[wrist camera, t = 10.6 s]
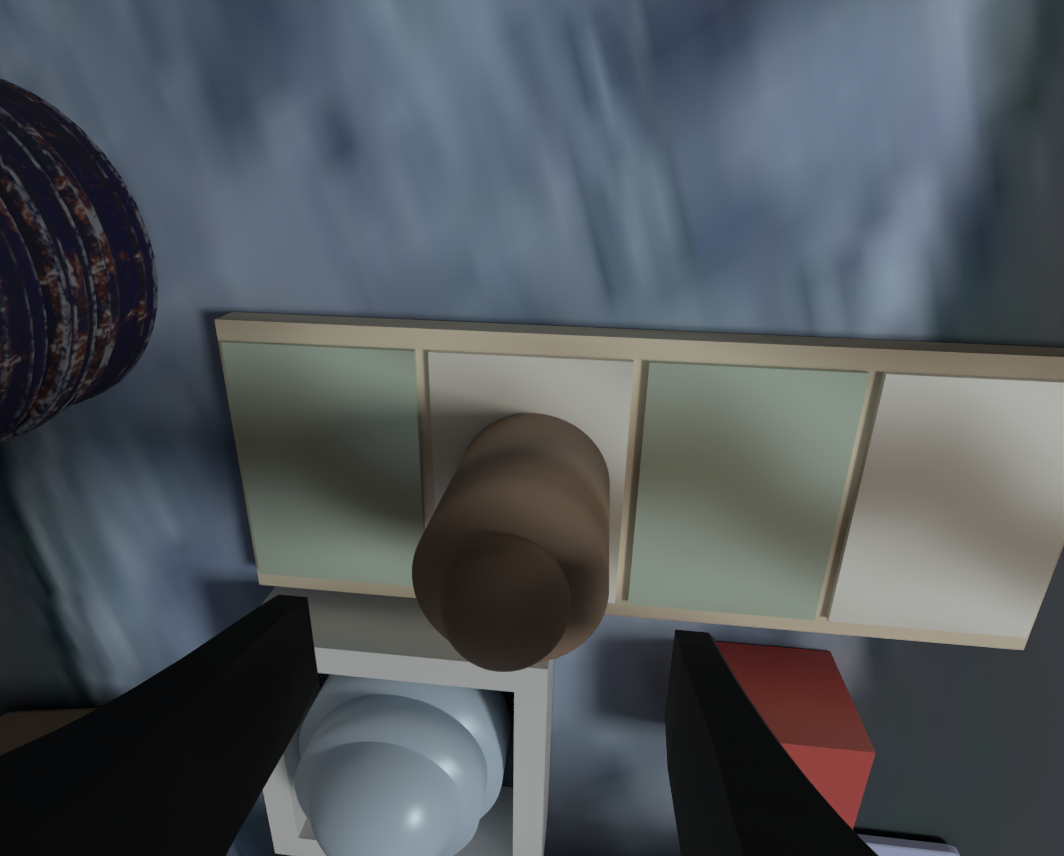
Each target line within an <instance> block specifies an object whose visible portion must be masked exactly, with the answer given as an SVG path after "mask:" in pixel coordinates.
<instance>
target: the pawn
mask: <svg viewBox="0 0 1064 856" xmlns="http://www.w3.org/2000/svg"><path fill="white" fill-rule="evenodd" d="M609 520H610V479H609V472H608V468H607V465H606V462H605V460H604V457H603V455H602V453H601V452H600V450H599V449H598V447H597V445H596V444H595V443H594V442H593V441H592V439H591V438H590V437H589V436H587V435H586V434H585V433H584V432H583V431H582V430H580V429H579V428H577V427H576V426H575V425H573V424H571V423H569V422H567V421H565V420H562V419H560V418H557V417H554V416H550V415H546V414H538V413H524V414H516V415H512V416H508V417H505V418H502V419H500V420H497V421H495V422H494V423H492V424H490V425H488V426H487V427H486V428H484V429H483V430H482V431H481V432H480V433H479V434H478V435H477V436H476V437H475V438H474V439H473V440H472V442H471V443H470V444H469V446H468V448H467V450H466V452H465V454H464V456H463V457H462V459H461V461H460V463H459V465H458V467H457V469H456V471H455V473H454V475H453V477H452V479H451V481H450V483H449V485H448V487H447V488H446V490H445V492H444V494H443V496H442V498H441V500H440V502H439V504H438V506H437V508H436V510H435V512H434V514H433V516H432V518H431V519H430V521H429V523H428V525H427V527H426V529H425V531H424V533H423V535H422V537H421V539H420V541H419V543H418V545H417V548H416V550H415V553H414V557H413V563H412V582H413V589H414V592H415V596H416V599H417V601H418V603H419V606H420V608H421V610H422V611H423V613H424V615H425V616H426V618H427V619H428V621H429V622H430V623H431V624H432V626H433V627H434V628H435V629H436V630H437V631H438V632H439V633H440V634H441V635H442V636H443V637H444V638H446V639H447V640H448V641H449V642H450V644H451V645H452V646H453V648H454V649H455V650H456V651H457V652H458V653H459V654H460V655H461V656H462V657H463V658H465V659H466V660H467V661H469V662H471V663H472V664H474V665H476V666H478V667H480V668H483V669H486V670H490V671H496V672H512V671H518V670H522V669H525V668H527V667H530V666H532V665H534V664H536V663H541V662H545V661H549V660H552V659H556V658H558V657H560V656H563V655H565V654H567V653H569V652H571V651H572V650H574V649H576V648H577V647H578V646H580V645H581V644H582V643H584V642H585V641H586V640H587V639H588V638H589V637H590V636H591V635H592V634H593V632H594V631H595V629H596V628H597V627H598V625H599V624H600V622H601V620H602V618H603V616H604V613H605V610H606V607H607V604H608V598H609Z"/></svg>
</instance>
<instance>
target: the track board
mask: <svg viewBox="0 0 1064 856" xmlns="http://www.w3.org/2000/svg"><path fill="white" fill-rule="evenodd" d="M214 320H215V326H216V332H217V338H218V344H219V350H220V356H221V361H222V367H223V373H224V379H225V385H226V391H227V397H228V403H229V408H230V414H231V420H232V426H233V432H234V438H235V444H236V450H237V455H238V461H239V467H240V473H241V479H242V485H243V491H244V497H245V503H246V508H247V514H248V520H249V526H250V532H251V538H252V544H253V550H254V555H255V561H256V567H257V573H258V579H259V585H268V586H280V587H291V588H303V589H315V590H326V591H338V592H350V593H362V594H373V595H385V596H397V597H408V598H416V596H415V592H414V589H413V582H412V563H413V557H414V553H415V550H416V548H417V545H418V543H419V541H420V539H421V537H422V535H423V533H424V531H425V529H426V527H427V525H428V523H429V521H430V519H431V518H432V516H433V514H434V512H435V510H436V508H437V506H438V504H439V502H440V500H441V498H442V496H443V494H444V492H445V490H446V488H447V487H448V485H449V483H450V481H451V479H452V477H453V475H454V473H455V471H456V469H457V467H458V465H459V463H460V461H461V459H462V457H463V456H464V454H465V452H466V450H467V448H468V446H469V444H470V443H471V442H472V440H473V439H474V438H475V437H476V436H477V435H478V434H479V433H480V432H481V431H482V430H483V429H484V428H486V427H487V426H488V425H490V424H492V423H494V422H495V421H497V420H500V419H502V418H505V417H508V416H512V415H516V414H524V413H538V414H546V415H550V416H554V417H557V418H560V419H562V420H565V421H567V422H569V423H571V424H573V425H575V426H576V427H577V428H579V429H580V430H582V431H583V432H584V433H585V434H586V435H587V436H589V437H590V438H591V439H592V441H593V442H594V443H595V444H596V445H597V447H598V449H599V450H600V452H601V453H602V455H603V457H604V460H605V462H606V465H607V468H608V472H609V479H610V520H609V598H608V604H607V607H606V610H605V613H604V614H607V615H618V616H630V617H642V618H654V619H665V620H677V621H689V622H700V623H712V624H724V625H735V626H747V627H759V628H770V629H782V630H794V631H805V632H817V633H829V634H840V635H852V636H864V637H875V638H887V639H899V640H910V641H922V642H934V643H946V644H957V645H969V646H981V647H992V648H1004V649H1016V650H1024V648H1025V645H1026V642H1027V640H1028V637H1029V635H1030V632H1031V629H1032V627H1033V624H1034V621H1035V619H1036V616H1037V614H1038V611H1039V608H1040V606H1041V603H1042V600H1043V598H1044V595H1045V593H1046V590H1047V587H1048V585H1049V582H1050V580H1051V577H1052V574H1053V572H1054V569H1055V566H1056V564H1057V561H1058V559H1059V556H1060V553H1061V551H1062V548H1063V546H1064V348H1058V347H1035V346H1012V345H989V344H966V343H943V342H919V341H896V340H873V339H850V338H827V337H804V336H781V335H758V334H734V333H711V332H688V331H665V330H642V329H619V328H596V327H573V326H549V325H526V324H503V323H480V322H457V321H434V320H411V319H388V318H364V317H341V316H318V315H295V314H272V313H249V312H232V313H229V314H226V315H224V316H221V317H219V318H216V319H214Z"/></svg>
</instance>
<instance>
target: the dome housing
mask: <svg viewBox="0 0 1064 856" xmlns="http://www.w3.org/2000/svg"><path fill="white" fill-rule="evenodd" d="M278 594H279V595H290V596H301V597H308V604H309V612H310V619H311V626H312V634H313V641H314V649H315V656H316V664H317V671H318V673H324V674H335V675H345V676H355V677H365V678H375V679H385V680H396V681H406V682H416V683H426V684H436V685H446V686H456V687H467V688H477V689H487V690H497V691H507V692H514V773H513V787H505V786H501V789H500V793H499V796H498V798H497V800H496V802H495V803H494V805H493V806H492V807H491V809H490V810H489V811H488V812H487V813H486V814H485V815H484V816H483V817H482V818H480V820H479V824H478V827H477V830H476V832H475V834H474V836H473V838H472V839H471V840H470V842H469V843H468V844H467V845H466V846H465V847H464V848H463V849H462V850H461V851H459V852H458V853H456V854H455V855H453V856H544V847H545V837H546V826H547V816H548V800H549V774H550V748H551V721H552V695H553V669H554V659H552V660H549V661H545V662H541V663H536V664H534V665H532V666H530V667H527V668H525V669H522V670H518V671H512V672H496V671H490V670H486V669H483V668H480V667H478V666H476V665H474V664H472V663H471V662H469V661H467V660H466V659H465V658H463V657H462V656H461V655H460V654H459V653H458V652H457V651H456V650H455V649H454V648H453V646H452V645H451V644H450V642H449V641H448V640H447V639H446V638H444V637H443V636H442V635H441V634H440V633H439V632H438V631H437V630H436V629H435V628H434V627H433V626H432V624H431V623H430V622H429V621H428V619H427V618H426V616H425V615H424V613H423V611H422V610H421V608H420V606H419V603H418V601H417V599H416V598H408V597H397V596H385V595H373V594H362V593H350V592H338V591H326V590H315V589H303V588H291V587H280V586H275V588H274V589H273V590H272V591H271V593H270V594H269V595H268V596H267V598H266V599H265V600H264V601H263V603H262V604H264V603H265V602H267V601H269V600H270V599H272V598H273V597H275V596H277V595H278ZM262 604H261V605H262ZM261 605H260V606H261ZM319 692H320V683H319V676H318V680H317V683H316V685H315V688H314V690H313V693H312V695H311V698H310V701H309V703H308V705H307V708H306V710H305V712H304V715H303V717H302V719H301V722H300V724H299V726H298V728H297V730H296V732H295V734H294V735H293V737H292V739H291V741H290V743H289V744H288V746H287V748H286V750H285V752H284V753H283V755H282V757H281V759H280V760H279V762H278V764H277V766H276V767H275V769H274V771H273V773H272V774H271V776H270V778H269V780H268V781H267V783H266V785H265V787H264V788H263V794H264V799H265V804H266V809H267V814H268V819H269V824H270V830H271V835H272V840H273V845H274V850H275V853H276V854H283V855H291V856H326V855H325V853H324V852H323V850H322V849H321V847H320V846H319V844H318V842H317V840H316V838H315V835H314V833H313V830H312V827H311V823H310V821H309V819H308V818H307V817H306V815H305V814H304V812H303V810H302V809H301V806H300V804H299V802H298V799H297V795H296V791H295V773H296V770H297V767H298V764H299V762H300V760H301V756H300V752H299V736H300V731H301V727H302V724H303V722H304V720H305V718H306V716H307V714H308V712H309V710H310V709H311V707H312V705H313V703H314V701H315V699H316V698H317V696H318V694H319Z"/></svg>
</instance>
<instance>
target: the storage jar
mask: <svg viewBox="0 0 1064 856" xmlns="http://www.w3.org/2000/svg"><path fill="white" fill-rule="evenodd" d="M157 290H158V282H157V274H156V266H155V258H154V254H153V250H152V247H151V243H150V239H149V236H148V232H147V229H146V227H145V224H144V222H143V219H142V217H141V215H140V212H139V210H138V207H137V205H136V203H135V201H134V199H133V197H132V196H131V194H130V192H129V190H128V189H127V187H126V185H125V183H124V181H123V180H122V178H121V176H120V175H119V174H118V172H117V171H116V169H115V168H114V167H113V165H112V164H111V163H110V161H109V160H108V159H107V157H106V156H105V154H104V153H103V152H102V151H101V150H100V148H99V147H98V146H97V145H96V144H95V143H94V142H93V141H92V140H91V139H90V138H89V137H88V136H87V135H86V134H85V132H84V131H83V130H82V129H81V128H80V127H78V126H77V125H76V124H75V123H74V122H72V121H71V120H70V119H69V118H68V117H66V116H65V115H64V114H63V113H62V112H61V111H59V110H58V109H57V108H55V107H54V106H52V105H51V104H49V103H48V102H46V101H44V100H43V99H41V98H40V97H38V96H37V95H35V94H33V93H32V92H30V91H28V90H26V89H23V88H21V87H19V86H17V85H15V84H12V83H10V82H8V81H6V80H3V79H0V444H1V443H3V442H6V441H8V440H11V439H13V438H15V437H17V436H19V435H21V434H24V433H26V432H28V431H30V430H32V429H34V428H36V427H39V426H41V425H42V424H44V423H45V422H47V421H48V420H50V419H51V418H53V417H54V416H56V415H57V414H59V413H60V412H61V411H63V410H65V409H67V408H68V407H70V406H71V405H74V404H77V403H79V402H82V401H84V400H87V399H89V398H92V397H94V396H96V395H98V394H101V393H103V392H105V391H106V390H108V389H109V388H111V387H112V386H114V385H115V384H117V383H118V382H120V381H121V380H122V379H123V378H124V377H125V376H126V375H127V374H128V373H129V372H130V371H131V370H132V369H133V368H134V367H135V365H136V364H137V362H138V360H139V359H140V357H141V356H142V354H143V352H144V351H145V349H146V346H147V344H148V341H149V339H150V336H151V333H152V331H153V327H154V321H155V316H156V311H157Z"/></svg>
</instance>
